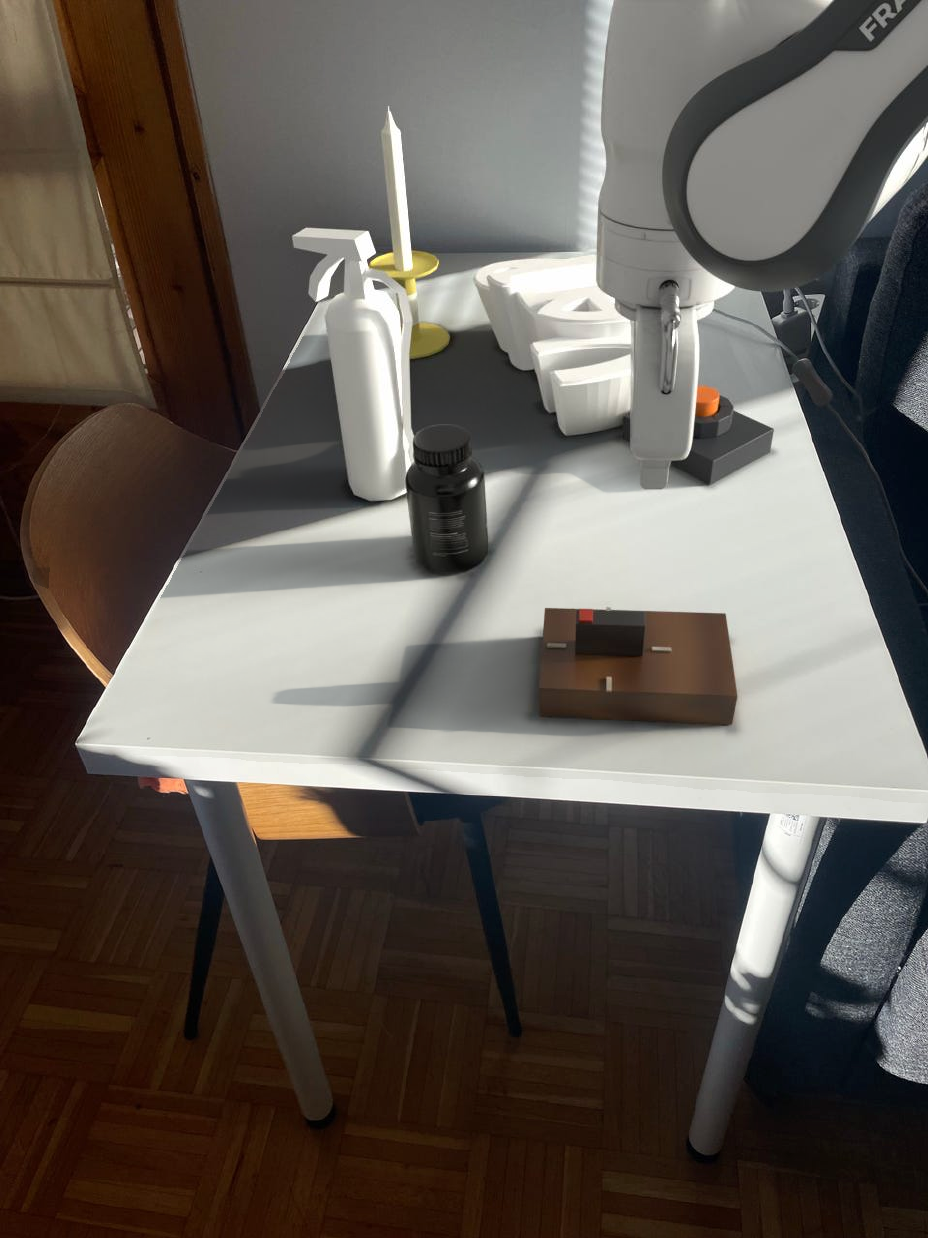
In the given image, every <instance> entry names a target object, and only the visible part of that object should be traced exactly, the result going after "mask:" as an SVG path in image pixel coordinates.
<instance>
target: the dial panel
mask: <svg viewBox="0 0 928 1238" xmlns="http://www.w3.org/2000/svg"><path fill="white" fill-rule="evenodd" d="M605 608H606V609H597V608H596V609H593V608H592V609H593V610H598V611H631V612H645V625H646V627H645V638H644V648H643V656H627V655H599V654H575V637H576V610H579V609H580V608H566V607H565V608H562V607H561V608H559V607H544V616H543V627H542V629H543V630H542V642H541V655H540V670H539V672H540V673H539V681H538V682H539V683H538V716H539V717H544V718H566V719H567V718H568V719H569V718H570V719H590V720H591V719H592V720H593V719H594V720H613V721H632V722H633V721H635V722H659V723H681V724H700V725H701V724H704V725H705V724H706V725H728V726H733V723H734V717H735V712H736V707H737V701H738V690H737V682H736V675H735V669H734V661H733V655H732V654H733V653H732V647H731V640H730V633H729V626H728V620H727V619H728V618H727V613H724V612H695V611H694V612H693V611H664V610H661V611H660V610H658V611H657V610H630V609H629V610H628V609H627V610H625V609H612V607H609V606H606V607H605Z"/></svg>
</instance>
